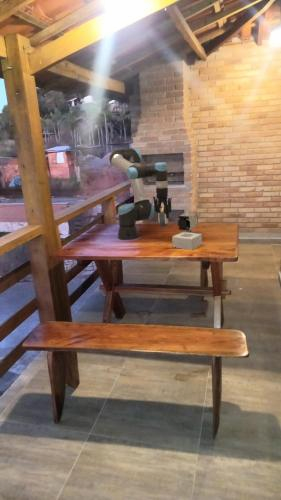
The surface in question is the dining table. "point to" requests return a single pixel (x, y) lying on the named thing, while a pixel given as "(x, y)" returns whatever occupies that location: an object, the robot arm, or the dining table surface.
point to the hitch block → (187, 240)
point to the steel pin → (162, 216)
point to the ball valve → (188, 221)
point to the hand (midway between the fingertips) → (163, 222)
